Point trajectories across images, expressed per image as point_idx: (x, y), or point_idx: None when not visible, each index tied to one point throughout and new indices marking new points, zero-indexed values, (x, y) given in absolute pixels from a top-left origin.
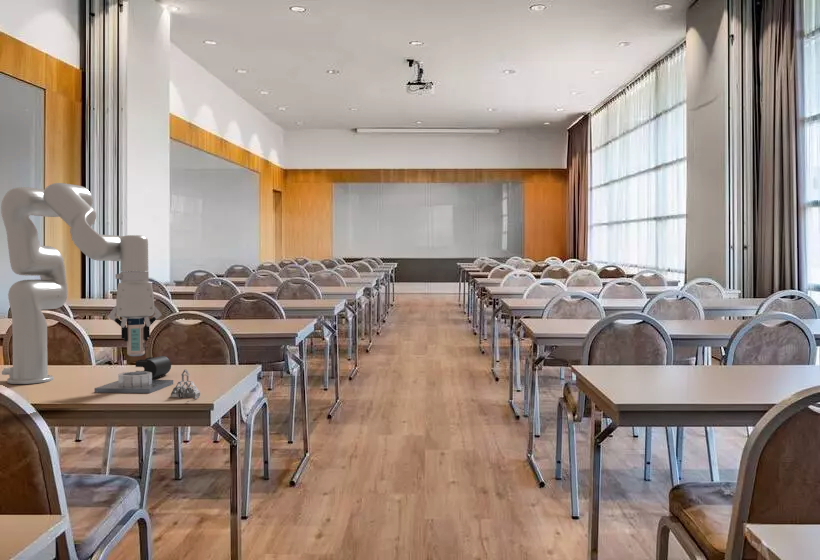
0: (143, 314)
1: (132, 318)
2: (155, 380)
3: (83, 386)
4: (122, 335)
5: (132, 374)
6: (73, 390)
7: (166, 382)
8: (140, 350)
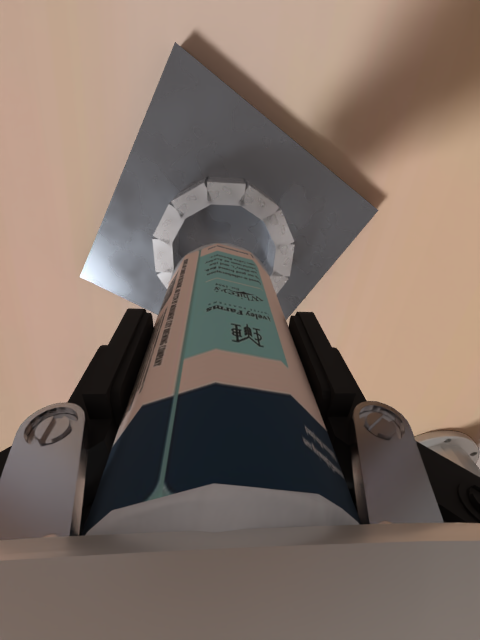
0: (9, 603)
1: (298, 494)
2: (147, 293)
3: (359, 345)
4: (337, 356)
5: None
6: (407, 288)
7: (102, 224)
8: (195, 258)
